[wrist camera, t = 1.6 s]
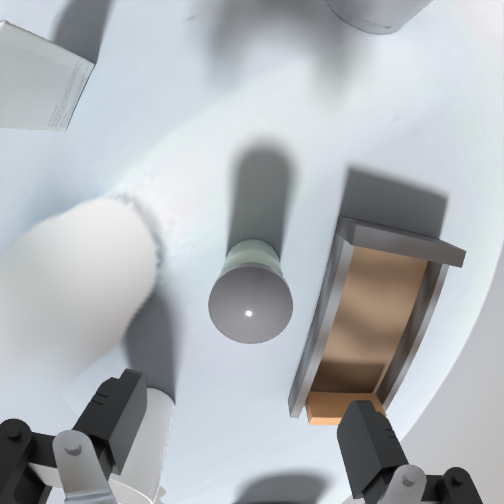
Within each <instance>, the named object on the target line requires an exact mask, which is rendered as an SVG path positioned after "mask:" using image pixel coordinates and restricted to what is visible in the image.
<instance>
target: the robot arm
mask: <svg viewBox="0 0 504 504" xmlns="http://www.w3.org/2000/svg"><path fill="white" fill-rule="evenodd" d="M326 1H327V3H328V5H329V6H330V7H331V9H332V10H333V11H334V12H335V13H336V14H337V15H338V16H339V17H340V18H341V19H343V20H344V21H345V22H347V23H348V24H350V25H352V26H354V27H355V28H358V29H360V30H362V31H365V32H369V33H372V34H380V35H384V34H391V33H394V32H396V31H398V30H399V29H400V28H401V27H403V26H404V25H405V24H406V23H407V22H408V21H409V20H410V19H412V18H413V17H414V16H415V15H416V14H418V13H419V12H420V11H421V10H422V9H423V8H424V7H426V6H427V5H428V4H429V3H430V2H431V1H433V0H326ZM146 409H147V386H146V374H145V373H142V372H139V371H135V370H131V369H128V368H127V369H125V370H124V372H123V373H122V375H121V377H120V378H119V379H116V378H113V377H111V378H109V379H108V380H106V381H105V382H103V383H102V384H101V385H100V387H99V388H98V390H97V391H96V394H94V396H93V397H92V399H91V402H89V404H88V405H87V407H86V408H85V410H84V411H83V413H82V415H81V416H80V418H79V419H78V421H77V423H76V424H75V426H74V427H73V429H72V430H66V431H63V432H60V433H59V434H58V435H56V436H50V435H45V434H40V433H35V432H32V431H31V430H30V427H29V426H28V425H27V424H26V423H25V422H23V421H21V420H19V419H8V420H5V421H4V422H2V423H1V424H0V504H46V501H47V499H48V496H49V494H50V492H51V490H52V487H59V488H63V489H64V492H65V496H66V499H65V504H118V503H117V501H116V499H115V497H114V495H113V493H112V490H111V488H110V486H109V484H108V480H109V477H110V475H111V473H113V474H116V475H119V476H120V475H121V472H122V470H123V467H124V465H125V462H126V460H127V457H128V455H129V452H130V450H131V447H132V445H133V442H134V440H135V437H136V435H137V432H138V430H139V428H140V425H141V423H142V420H143V418H144V416H145V413H146ZM392 429H393V428H392V426H391V424H390V422H389V420H388V419H387V418H386V417H385V416H384V415H383V414H382V413H381V412H380V411H379V412H376V410H375V407H374V405H373V403H372V402H371V401H370V400H352V401H351V402H350V404H349V406H348V408H347V410H346V412H345V414H344V415H343V417H342V419H341V421H340V423H339V425H338V429H337V439H338V443H339V446H340V450H341V454H342V457H343V461H344V465H345V468H346V472H347V476H348V480H349V484H350V488H351V491H352V495H353V499H360V498H364V500H365V503H364V504H483V503H482V500H481V498H480V496H479V494H478V492H477V489H476V487H475V485H474V483H473V481H472V479H471V477H470V475H469V474H468V472H467V471H466V470H464V469H462V468H459V467H453V468H450V469H449V470H447V471H446V472H445V473H444V474H443V475H425V473H424V472H423V471H422V469H420V468H419V467H417V466H414V465H409V463H408V461H407V459H406V457H405V454H404V452H403V450H402V448H401V445H400V443H399V441H398V439H397V438H396V435H395V433H394V430H392Z"/></svg>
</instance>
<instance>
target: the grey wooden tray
mask: <svg viewBox="0 0 504 504" xmlns="http://www.w3.org/2000/svg"><path fill="white" fill-rule="evenodd" d="M465 254H466V251H465V250H462V249H460V248H458V247H456V246H453V245H451V244H449V243H446V242H444V241H442V240H440V239H436V238H432V237H428V236H425V235H421V234H417V233H413V232H409V231H405V230H400V229H396V228H392V227H388V226H384V225H379V224H375V223H370V222H366V221H361V220H357V219H352V218H348V217H343V216H339V217H338V222H337V227H336V231H335V236H334V240H333V245H332V249H331V253H330V258H329V262H328V266H327V270H326V274H325V278H324V282H323V286H322V289H321V293H320V297H319V301H318V304H317V308H316V312H315V315H314V319H313V322H312V326H311V329H310V333H309V336H308V339H307V343H306V346H305V349H304V352H303V356H302V359H301V362H300V365H299V368H298V371H297V374H296V377H295V380H294V383H293V386H292V389H291V392H290V395H289V398H288V405H289V413H290V417H293V418H299V416H300V413H301V411H302V408H303V407H306V406H305V401H306V398H307V396H308V393H309V392H322V393H376V395H377V397H378V399H379V401H380V403H381V405H382V407H383V409H384V411H385V412H386V410H387V408H388V407H389V405H390V403H391V401H392V400H393V398H394V396H395V394H396V393H397V391H398V389H399V387H400V385H401V383H402V381H403V379H404V377H405V375H406V373H407V371H408V369H409V367H410V365H411V363H412V361H413V359H414V357H415V355H416V353H417V351H418V348H419V346H420V344H421V342H422V339H423V337H424V335H425V332H426V330H427V327H428V325H429V322H430V320H431V317H432V315H433V312H434V309H435V307H436V304H437V301H438V299H439V296H440V293H441V290H442V287H443V284H444V281H445V278H446V274H447V271H448V268H449V265H451V266H456V267H460V268H462V265H463V261H464V258H465Z"/></svg>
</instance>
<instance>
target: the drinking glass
mask: <svg viewBox="0 0 504 504" xmlns="http://www.w3.org/2000/svg"><path fill="white" fill-rule="evenodd" d="M174 411H175V405H174V402H173V401H172V399H171V398H170V397H169V396H168V395H167V394H166V393H164V392H162V391H160V390H158V389H155V388H147V409H146V413H145V416H144V418H143V420H142V423H141V425H140V428H139V430H138V432H137V435H136V437H135V440H134V442H133V445H132V447H131V450H130V452H129V455H128V457H127V460H126V462H125V465H124V467H123V470H122V472H121V475H120V476H119V475H116V474H113V473H111V475H110V477H109V480H108V484H109V486H110V488H111V490H112V493H113V495H114V497H115V499H116V501H117V502H119V503H121V504H154V501H155V499H156V495H157V492H158V489H159V486H160V482H161V478H162V473H163V468H164V461H165V455H166V449H167V444H168V438H169V432H170V427H171V422H172V418H173V415H174Z"/></svg>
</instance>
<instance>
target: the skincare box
mask: <svg viewBox="0 0 504 504" xmlns="http://www.w3.org/2000/svg"><path fill="white" fill-rule="evenodd" d="M94 65H95V64H94V63H92V62H90V61H89V60H87V59H85V58H83V57H81V56H79V55H77V54H75V53H73V52H71V51H69V50H67V49H65V48H63V47H61V46H59V45H57V44H55V43H53V42H51V41H49V40H47V39H45V38H43V37H40V36H38V35H36V34H34V33H32V32H29V31H27V30H25V29H23V28H20V27H18V26H16V25H13V24H11V23H9V22H8V21H6V20H3V21H0V129H19V130H42V131H57V132H65V131H66V129H67V126H68V124H69V121H70V118H71V116H72V113H73V111H74V108H75V106H76V104H77V101H78V99H79V97H80V95H81V92H82V90H83V88H84V86H85V84H86V81H87V79H88V77H89V75H90V73H91V71H92V69H93V67H94Z"/></svg>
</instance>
